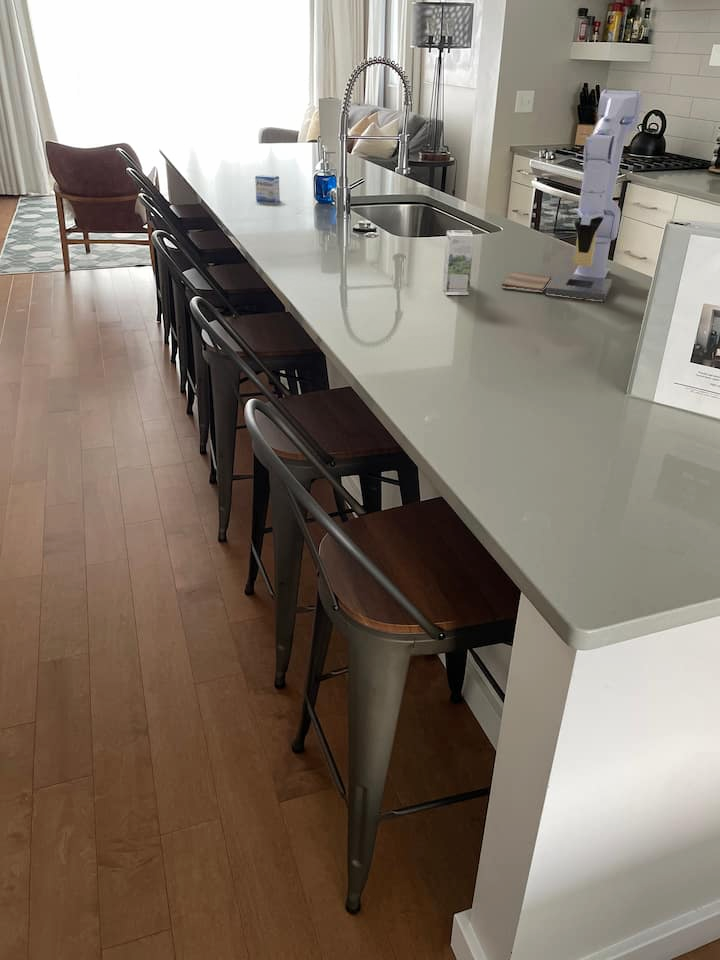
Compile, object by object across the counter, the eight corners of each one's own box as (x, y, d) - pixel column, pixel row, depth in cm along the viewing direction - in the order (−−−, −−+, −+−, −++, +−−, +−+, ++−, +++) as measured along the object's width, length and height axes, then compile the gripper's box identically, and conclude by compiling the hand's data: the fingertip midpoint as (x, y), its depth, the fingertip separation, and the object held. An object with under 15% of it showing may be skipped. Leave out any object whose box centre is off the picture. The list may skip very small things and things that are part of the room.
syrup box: (465, 289, 195) (470, 229, 188) (469, 296, 190) (474, 234, 183) (442, 289, 195) (446, 229, 188) (445, 296, 190) (449, 234, 182)
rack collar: (555, 281, 202) (556, 273, 201) (611, 287, 198) (612, 279, 197) (544, 295, 191) (545, 287, 190) (604, 302, 186) (605, 294, 185)
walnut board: (512, 276, 205) (512, 272, 205) (550, 281, 202) (551, 276, 201) (501, 288, 196) (502, 283, 195) (541, 293, 192) (542, 288, 192)
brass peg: (575, 260, 193) (580, 227, 189) (592, 262, 192) (597, 229, 188) (573, 264, 190) (577, 230, 186) (590, 266, 189) (595, 232, 185)
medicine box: (255, 200, 293) (254, 176, 289) (260, 198, 297) (259, 174, 293) (275, 202, 291) (274, 177, 287) (280, 200, 295) (279, 175, 291)
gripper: (580, 184, 190) (572, 242, 196) (571, 194, 178) (562, 255, 185) (610, 186, 187) (601, 244, 194) (603, 197, 176) (593, 258, 182)
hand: (584, 250), depth 189 cm, fingers closed on brass peg, 4 cm apart
